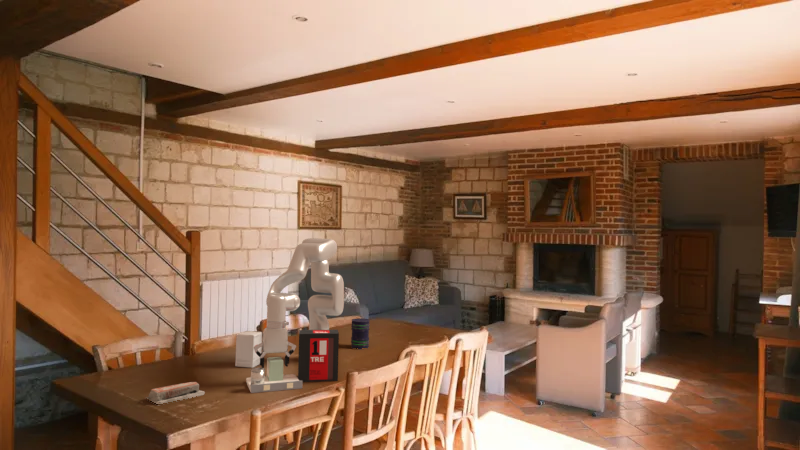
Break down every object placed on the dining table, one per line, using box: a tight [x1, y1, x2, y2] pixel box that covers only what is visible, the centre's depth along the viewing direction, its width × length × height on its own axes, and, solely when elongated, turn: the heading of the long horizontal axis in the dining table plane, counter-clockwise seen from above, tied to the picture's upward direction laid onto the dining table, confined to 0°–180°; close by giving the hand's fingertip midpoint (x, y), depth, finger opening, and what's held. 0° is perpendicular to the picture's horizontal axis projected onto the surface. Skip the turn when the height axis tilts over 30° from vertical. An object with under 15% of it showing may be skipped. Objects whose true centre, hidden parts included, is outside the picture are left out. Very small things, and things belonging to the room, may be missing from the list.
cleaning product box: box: [297, 329, 340, 383], centre depth 227 cm, size 16×9×20 cm, turn 100°
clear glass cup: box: [250, 367, 266, 385], centre depth 210 cm, size 5×5×6 cm
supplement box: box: [234, 330, 263, 369], centre depth 247 cm, size 9×9×15 cm
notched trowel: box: [145, 381, 206, 405], centre depth 199 cm, size 18×5×10 cm
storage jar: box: [350, 317, 370, 350], centre depth 290 cm, size 10×10×15 cm
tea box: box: [266, 356, 284, 381], centre depth 221 cm, size 7×6×8 cm
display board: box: [245, 373, 304, 394], centre depth 217 cm, size 20×17×3 cm
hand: (274, 366), depth 220 cm, fingers open, 9 cm apart
